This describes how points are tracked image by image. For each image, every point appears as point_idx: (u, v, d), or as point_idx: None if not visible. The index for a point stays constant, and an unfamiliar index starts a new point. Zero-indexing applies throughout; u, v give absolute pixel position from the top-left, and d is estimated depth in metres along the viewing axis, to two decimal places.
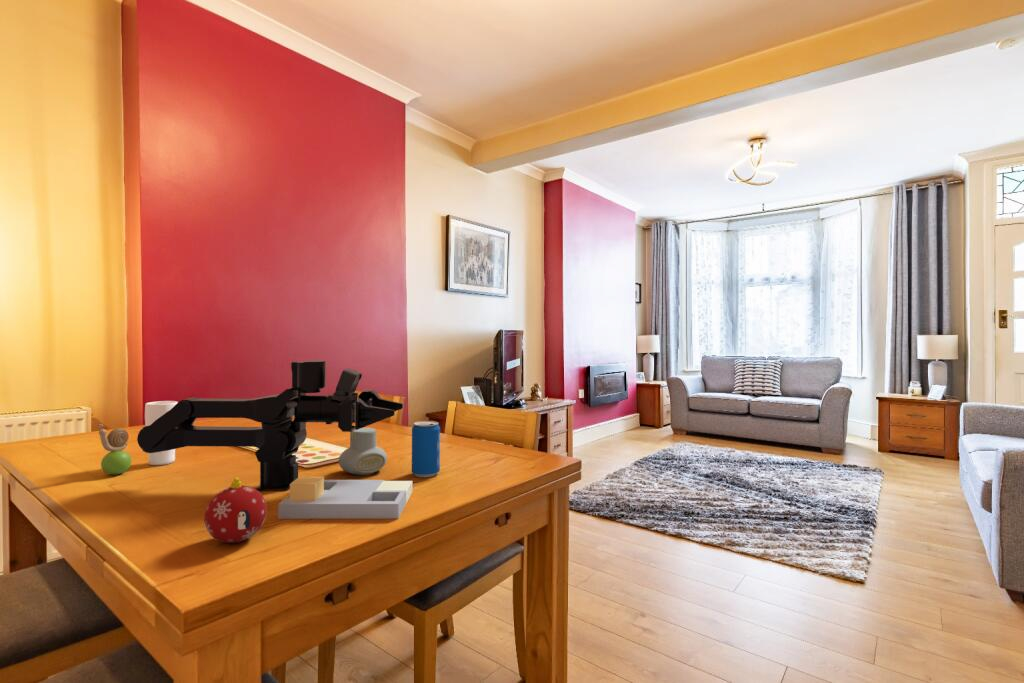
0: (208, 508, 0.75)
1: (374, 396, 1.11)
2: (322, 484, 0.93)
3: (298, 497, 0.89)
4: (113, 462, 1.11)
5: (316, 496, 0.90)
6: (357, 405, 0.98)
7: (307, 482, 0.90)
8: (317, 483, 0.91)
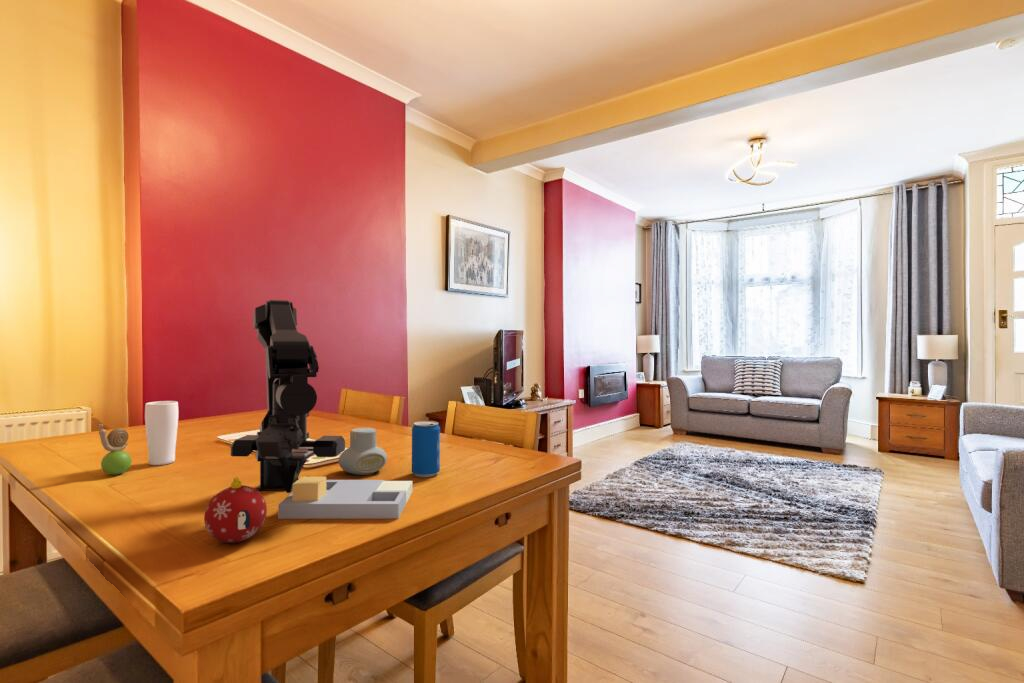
0: (208, 508, 0.75)
1: None
2: (325, 484, 0.93)
3: (301, 497, 0.89)
4: (113, 462, 1.11)
5: (319, 496, 0.90)
6: None
7: (310, 482, 0.90)
8: (320, 483, 0.91)
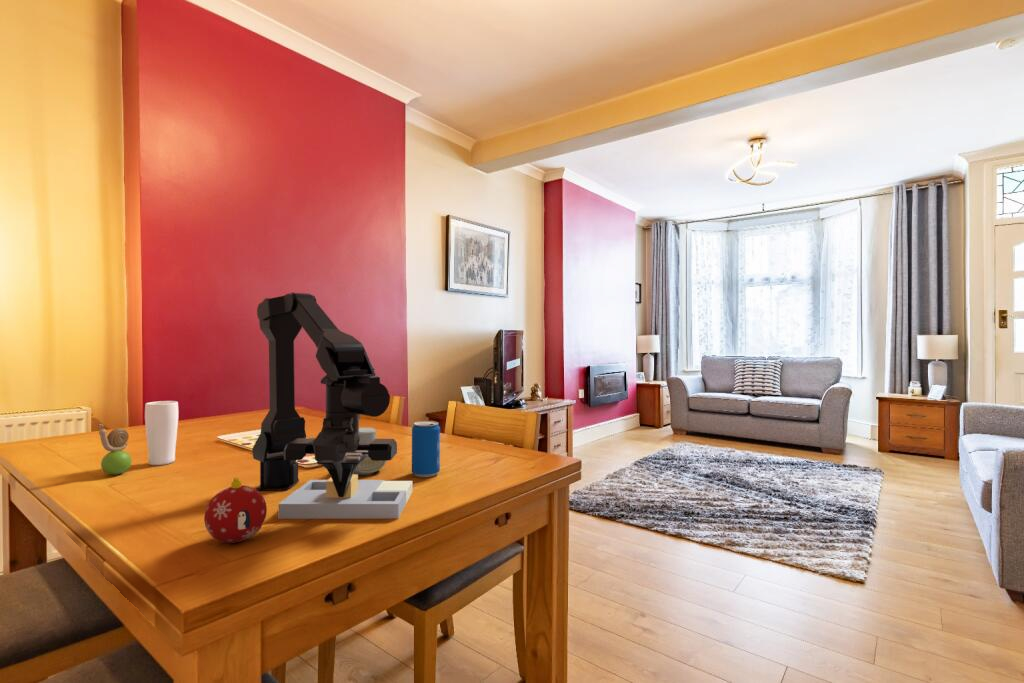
0: (208, 508, 0.75)
1: None
2: (356, 481, 0.95)
3: (334, 494, 0.91)
4: (113, 462, 1.11)
5: (352, 493, 0.92)
6: None
7: None
8: (352, 480, 0.92)
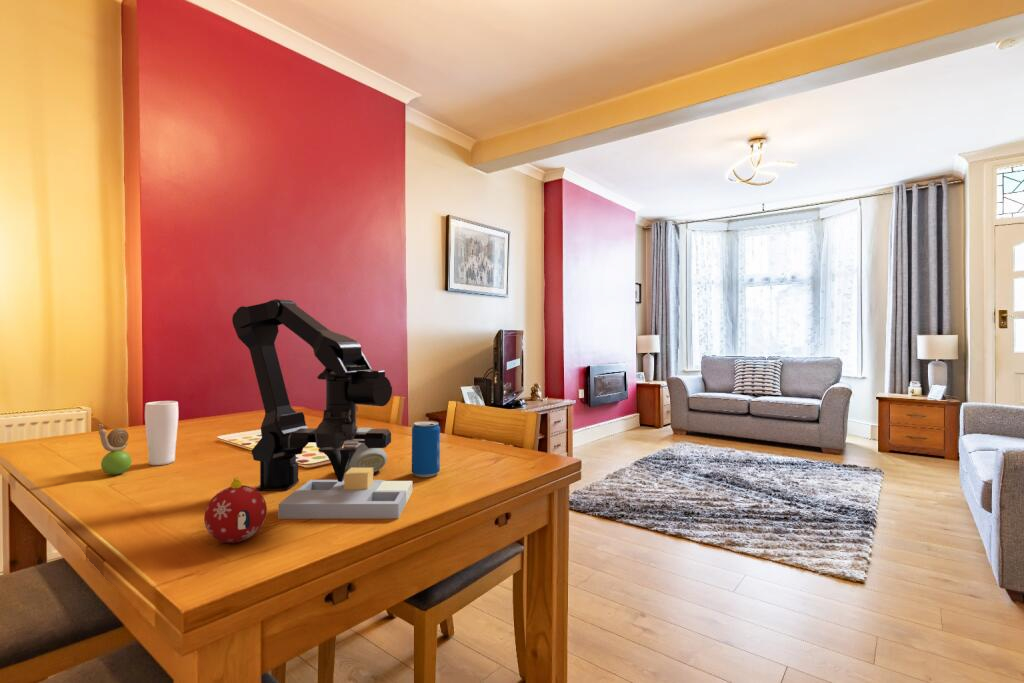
0: (208, 508, 0.75)
1: None
2: (372, 474, 1.01)
3: (352, 486, 0.97)
4: (113, 462, 1.11)
5: (368, 485, 0.97)
6: None
7: (359, 472, 0.98)
8: (369, 473, 0.98)
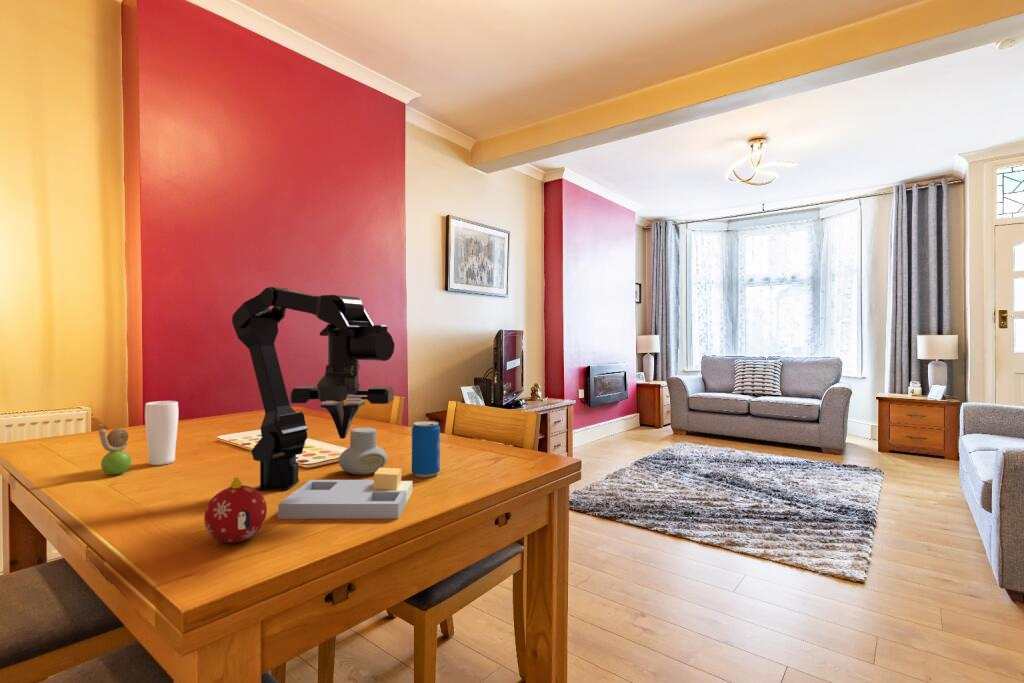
0: (208, 508, 0.75)
1: None
2: (400, 475, 1.01)
3: (381, 486, 0.97)
4: (113, 462, 1.11)
5: (397, 486, 0.98)
6: None
7: (389, 473, 0.98)
8: (398, 474, 0.98)
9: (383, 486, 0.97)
